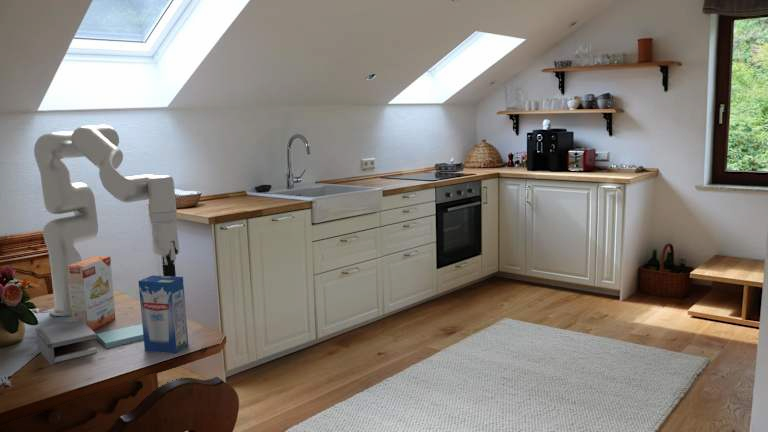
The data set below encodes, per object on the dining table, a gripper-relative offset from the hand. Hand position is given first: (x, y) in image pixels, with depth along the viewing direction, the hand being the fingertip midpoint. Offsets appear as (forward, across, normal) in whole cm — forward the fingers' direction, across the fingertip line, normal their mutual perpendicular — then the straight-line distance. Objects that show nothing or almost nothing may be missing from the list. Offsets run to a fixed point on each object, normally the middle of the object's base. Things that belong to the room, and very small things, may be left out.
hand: (169, 276), depth 199 cm
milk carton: (+16, +16, -8) cm, 25 cm away
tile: (+16, -1, -13) cm, 21 cm away
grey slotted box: (+16, -1, -30) cm, 34 cm away
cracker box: (+16, -19, -18) cm, 30 cm away
